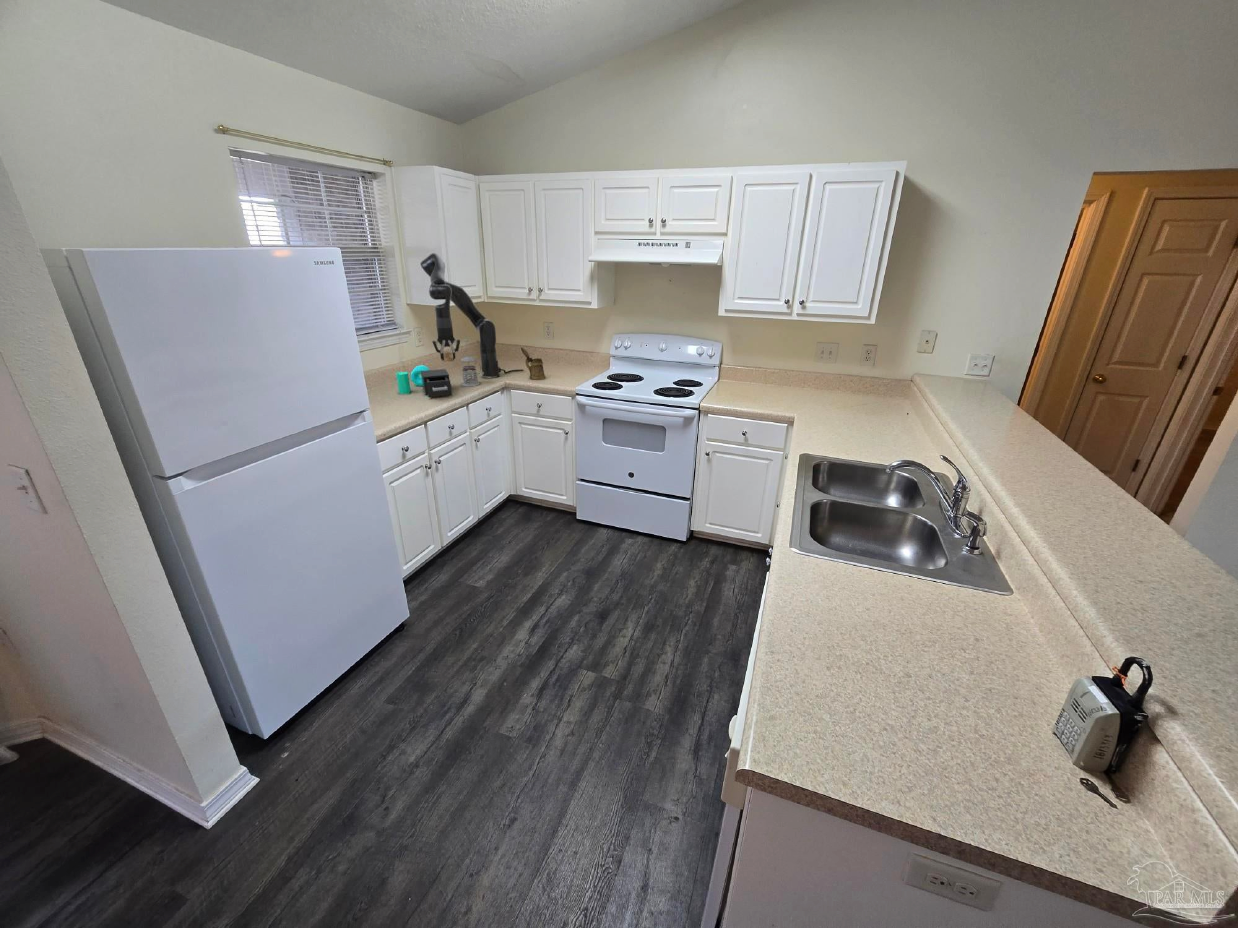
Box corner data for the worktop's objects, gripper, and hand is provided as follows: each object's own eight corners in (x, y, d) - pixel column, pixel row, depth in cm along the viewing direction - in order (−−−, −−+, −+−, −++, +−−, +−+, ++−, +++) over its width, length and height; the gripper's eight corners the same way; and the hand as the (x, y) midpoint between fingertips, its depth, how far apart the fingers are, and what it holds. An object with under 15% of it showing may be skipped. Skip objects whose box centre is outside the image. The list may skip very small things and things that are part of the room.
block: (452, 359, 267) (451, 350, 266) (453, 361, 263) (452, 352, 262) (443, 360, 266) (442, 351, 264) (444, 361, 262) (443, 352, 260)
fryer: (451, 392, 272) (448, 374, 268) (425, 395, 267) (423, 376, 263) (447, 386, 284) (445, 369, 280) (423, 388, 279) (420, 371, 275)
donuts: (411, 386, 283) (408, 369, 279) (414, 382, 292) (411, 365, 288) (430, 386, 284) (427, 368, 281) (432, 381, 294) (430, 364, 290)
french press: (459, 383, 291) (454, 338, 281) (480, 380, 296) (475, 337, 286) (464, 386, 283) (458, 341, 273) (484, 384, 288) (480, 339, 279)
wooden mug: (524, 376, 308) (522, 345, 301) (546, 376, 307) (545, 346, 300) (520, 379, 300) (518, 348, 293) (543, 380, 299) (541, 349, 292)
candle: (396, 393, 270) (392, 370, 265) (404, 390, 275) (401, 368, 271) (405, 394, 268) (401, 371, 263) (413, 391, 273) (410, 369, 269)
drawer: (453, 397, 259) (451, 382, 256) (429, 400, 255) (427, 384, 252) (448, 389, 275) (446, 374, 272) (426, 391, 271) (423, 376, 267)
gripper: (430, 328, 252) (434, 362, 259) (460, 326, 257) (463, 360, 264) (428, 326, 258) (433, 359, 265) (458, 324, 264) (461, 358, 270)
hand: (448, 360), depth 264 cm, fingers closed on block, 4 cm apart
